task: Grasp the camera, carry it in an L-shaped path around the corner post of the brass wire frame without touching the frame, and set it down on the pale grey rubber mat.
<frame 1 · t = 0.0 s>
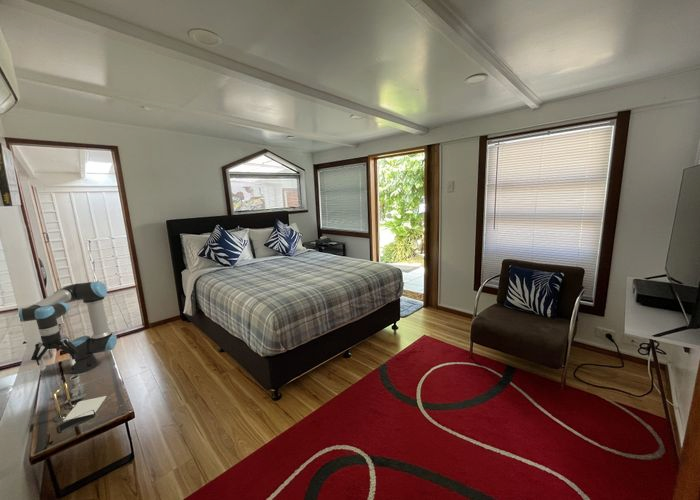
hand: (58, 366, 163), 28 cm above the table, fingers open, 13 cm apart
camera: (77, 396, 178), on the table, touching wire frame
wire frame: (65, 411, 166), on the table
mat: (86, 408, 168), on the table
phone: (77, 422, 159), on the table
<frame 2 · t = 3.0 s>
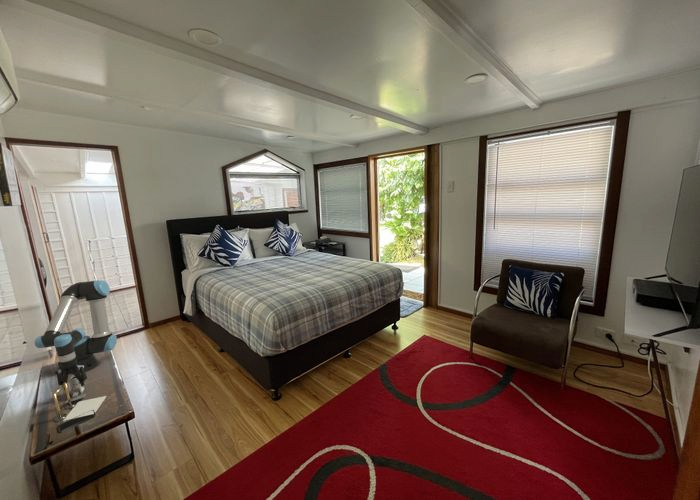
hand: (75, 392, 178), 3 cm above the table, fingers closed on camera, 6 cm apart
camera: (77, 396, 179), on the table, touching gripper, wire frame
everything else where it was.
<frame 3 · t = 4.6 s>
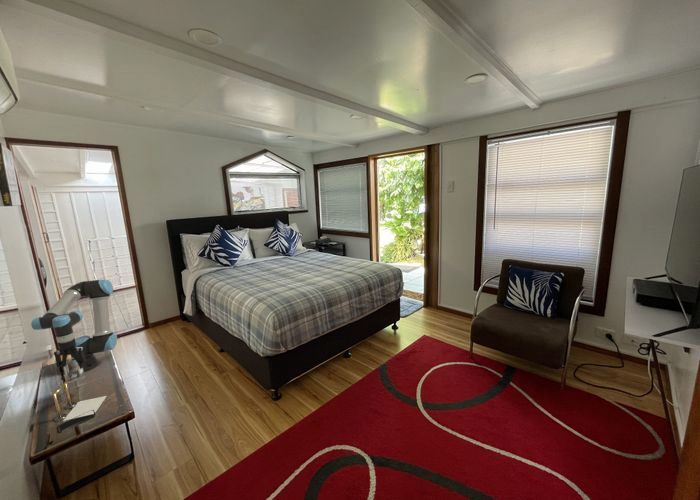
hand: (74, 374, 176), 16 cm above the table, fingers closed on camera, 6 cm apart
camera: (76, 378, 176), point 12 cm above the table, touching gripper
everything else where it was.
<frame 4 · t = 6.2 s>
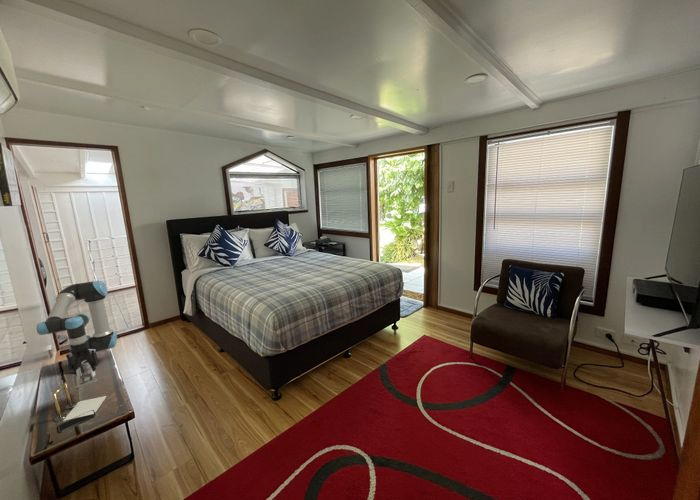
hand: (86, 377, 172), 16 cm above the table, fingers closed on camera, 6 cm apart
camera: (88, 381, 172), point 13 cm above the table, touching gripper
everything else where it was.
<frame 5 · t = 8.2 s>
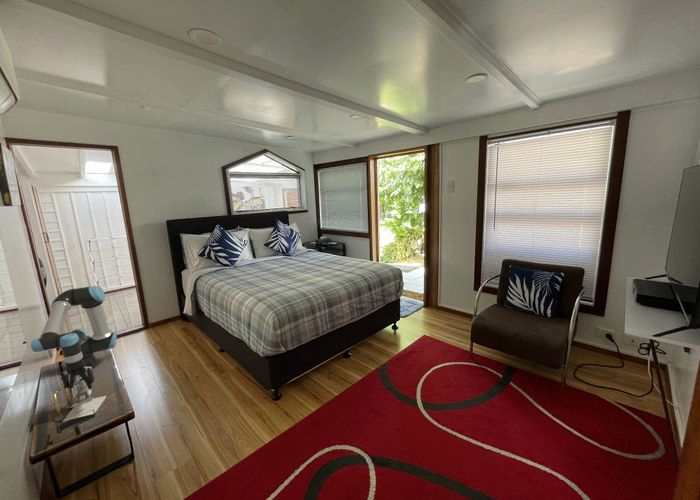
hand: (82, 395, 166), 9 cm above the table, fingers closed on camera, 6 cm apart
camera: (84, 400, 167), point 6 cm above the table, touching gripper
everything else where it was.
when the fingers open (5 cm above the table, at t = 9.7 s): camera stays where it is, resting on mat.
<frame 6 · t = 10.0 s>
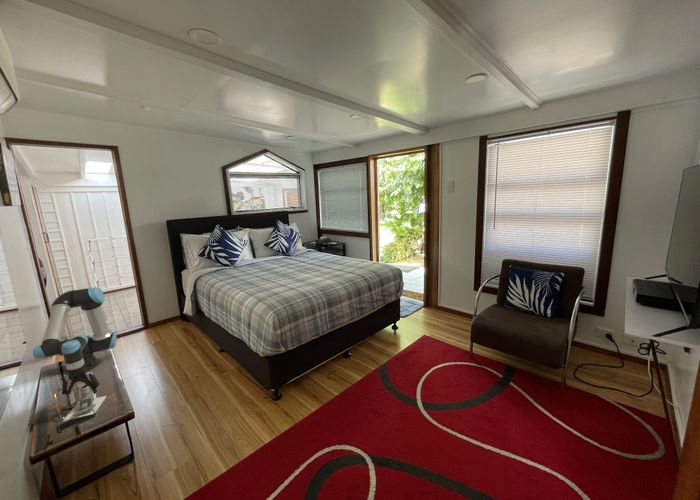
hand: (84, 400, 167), 6 cm above the table, fingers open, 9 cm apart
camera: (86, 407, 168), resting on mat
everything else where it was.
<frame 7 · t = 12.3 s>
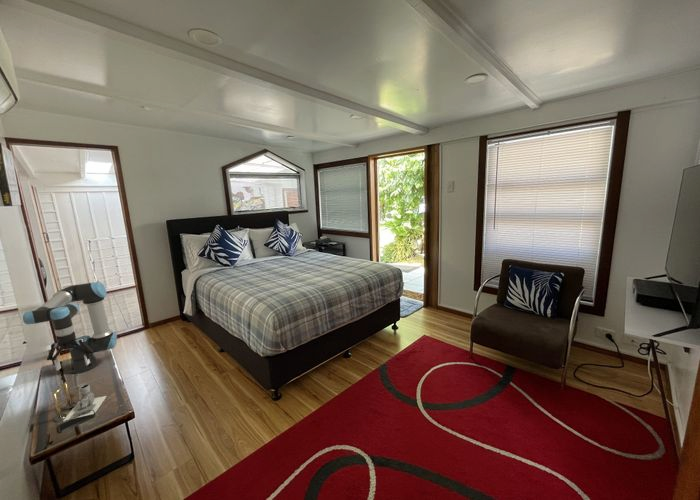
hand: (73, 366, 165), 27 cm above the table, fingers open, 13 cm apart
nothing on the table moved.
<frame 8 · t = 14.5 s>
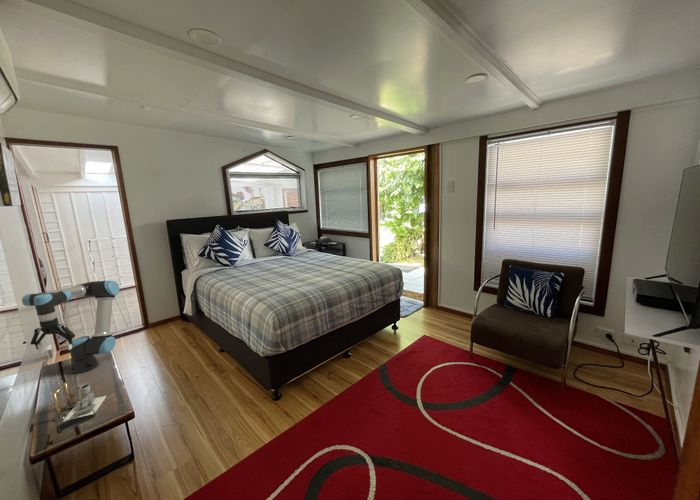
hand: (56, 351, 173), 32 cm above the table, fingers open, 13 cm apart
nothing on the table moved.
at the end: camera inside the target area on the mat (0.6 cm from its centre), point 0.4 cm above the mat's base; camera tilted 0°; camera touching mat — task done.
